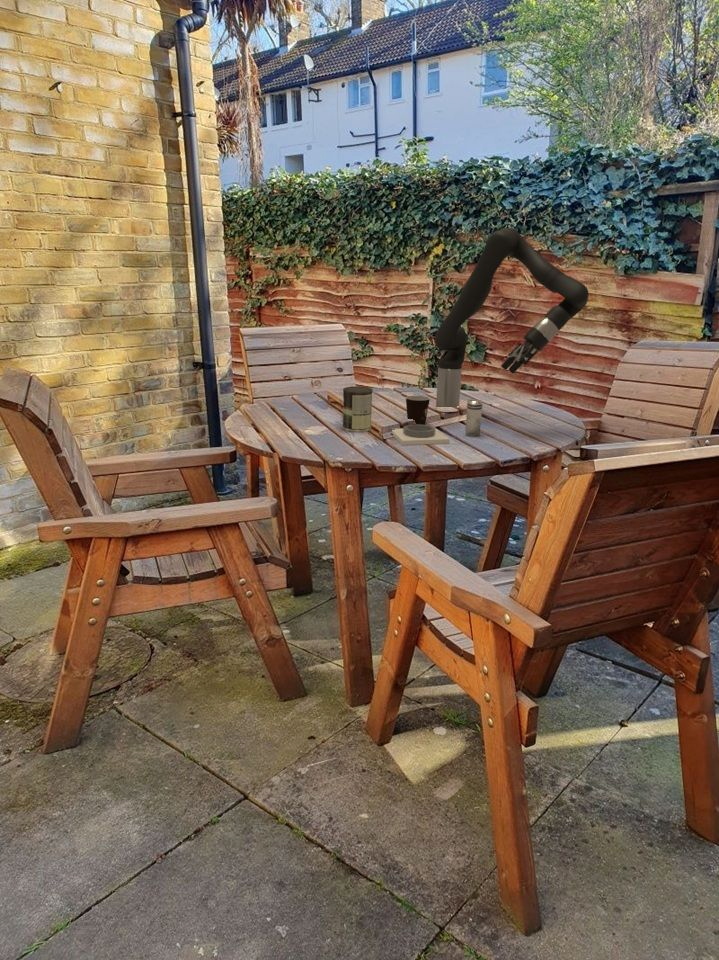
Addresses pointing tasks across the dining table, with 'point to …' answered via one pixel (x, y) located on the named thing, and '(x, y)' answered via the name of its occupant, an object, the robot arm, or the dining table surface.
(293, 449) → the dining table surface
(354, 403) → the coffee can
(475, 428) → the cylinder
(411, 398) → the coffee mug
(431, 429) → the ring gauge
